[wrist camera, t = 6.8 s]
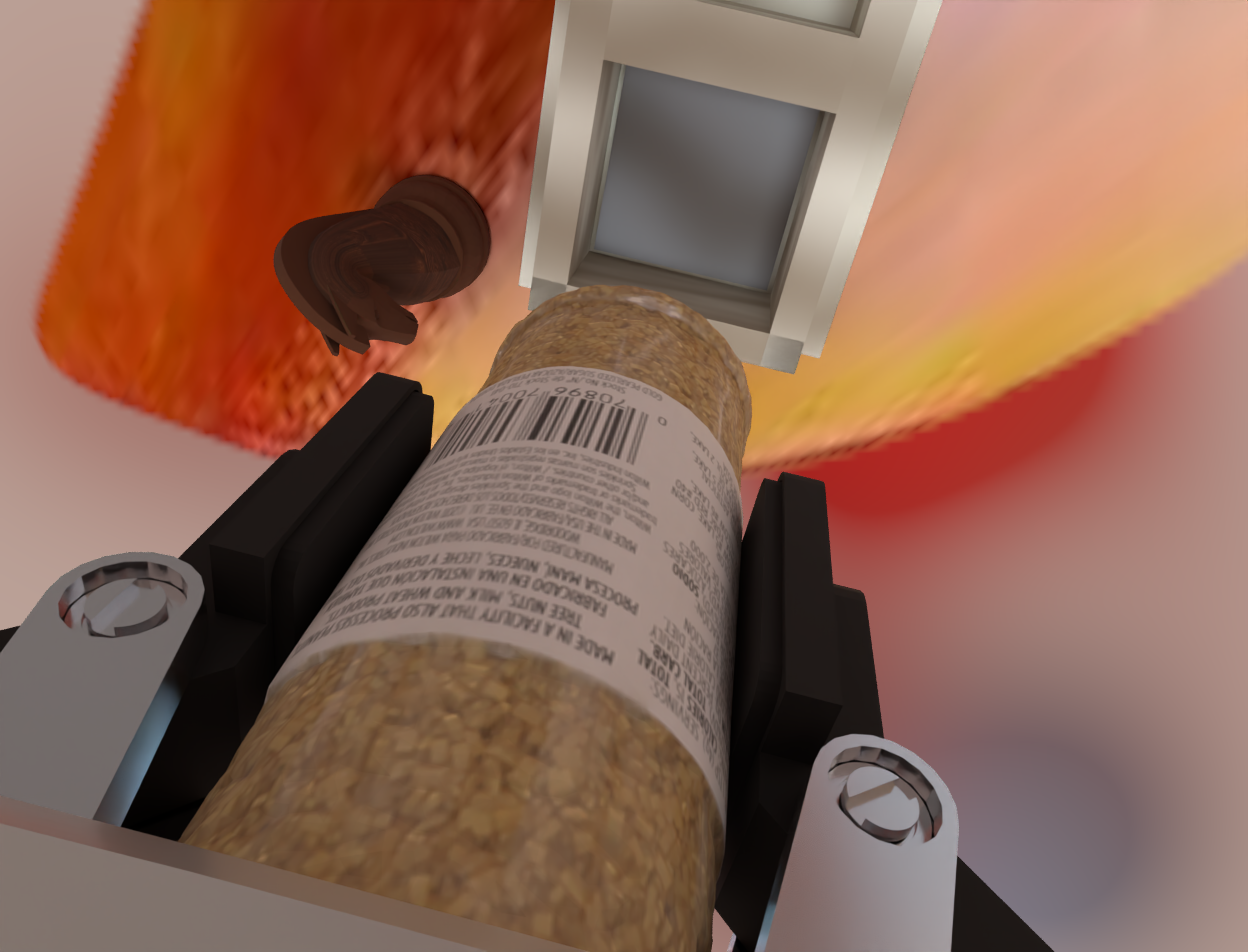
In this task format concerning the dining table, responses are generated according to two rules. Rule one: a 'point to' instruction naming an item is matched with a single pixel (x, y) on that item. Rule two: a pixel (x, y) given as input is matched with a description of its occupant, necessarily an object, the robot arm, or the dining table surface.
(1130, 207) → the dining table surface
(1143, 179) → the dining table surface
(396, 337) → the chess piece
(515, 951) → the robot arm
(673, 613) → the sprinkles bottle
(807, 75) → the slot rack
